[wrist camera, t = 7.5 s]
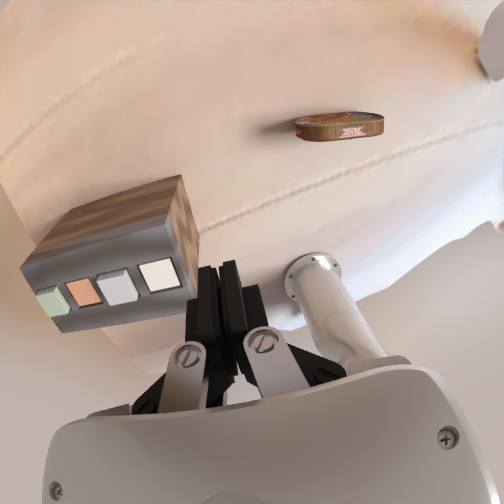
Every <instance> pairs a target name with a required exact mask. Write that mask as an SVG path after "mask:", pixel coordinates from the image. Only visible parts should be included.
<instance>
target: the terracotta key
mask: <svg viewBox="0 0 504 504" xmlns="http://www.w3.org/2000/svg"><path fill="white" fill-rule="evenodd" d="M66 285H67V287H68V288H69V290H70V292H71V293H72V295H73V297H74V298H75V300H76V302H77V303H78V305H79V306H83V305H88V304H93V303H98V302H102V300H101V298H100V296H99V294H98V293H97V291H96V289H95V287H94V286H93V284H92V282H91V280H90V278H89V277H85V278H81V279H77V280H73V281H69V282H66Z"/></svg>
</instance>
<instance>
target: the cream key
mask: <svg viewBox="0 0 504 504" xmlns="http://www.w3.org/2000/svg"><path fill="white" fill-rule="evenodd" d="M139 267H140V270H141V272H142V274H143V276H144V278H145V280H146V283H147V285H148V287H149V289H150V291H156V290H161V289H165V288H170V287H175V286H179V285H180V284H181V280H180V278H179V275H178V273H177V270H176V267H175V265H174V262H173V260H172V257H167V258H162V259H158V260H154V261H150V262H146V263H142V264H139Z"/></svg>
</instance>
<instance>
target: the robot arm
mask: <svg viewBox="0 0 504 504" xmlns="http://www.w3.org/2000/svg"><path fill="white" fill-rule="evenodd" d="M219 275H220V280H219V277H218V273H217V270H216V268H211V266H210V265H209V266H205V267H201V268H198V287H197V298H193V299H189V300H187V309H186V331H185V342H184V343H182V344H180V345H178V346H177V347H176V348H175V349H174V350H173V351H172V353H171V355H170V358H169V363H168V367H167V371H166V373H165V374H164V375H163V376H162V377H160V378H159V379H158V380H157V381H156V382H155V383H154V384H153V385H152V386H151V387H150V388H149V389H148V390H147V391H146V392H144V393H143V394H142V395H141V396H140V397H139V398H138V399H137V400H136V401H135V403H134V404H133V405H130V404H129V403H128V404H125V405H121V406H117V407H114V408H110V409H106V410H102V411H98V412H94V413H92V414H89V415H88V416H87V418H84V419H80V420H76V421H73V422H70V423H68V424H66V425H64V426H62V427H61V428H59V429H58V430H57V431H56V432H55V434H54V436H53V437H52V440H51V443H50V446H49V449H48V453H47V458H46V464H45V470H44V478H43V491H42V504H500V500H499V497H498V493H497V489H496V486H495V483H494V480H493V477H492V474H491V471H490V468H489V465H488V462H487V460H486V457H485V455H484V452H483V450H482V448H481V445H480V443H479V441H478V439H477V436H476V434H475V432H474V430H473V428H472V426H471V424H470V421H469V419H468V418H467V416H466V414H465V412H464V410H463V408H462V407H461V405H460V403H459V401H458V400H457V398H456V396H455V395H454V393H453V392H452V390H451V389H450V387H449V386H448V385H447V383H446V382H445V381H444V380H443V378H442V377H441V376H440V375H439V374H438V373H437V372H435V371H434V370H432V369H431V368H428V367H426V366H422V365H413V364H411V363H410V361H409V360H408V359H406V358H405V357H402V356H391V355H390V354H389V352H388V351H387V350H386V349H385V347H384V346H383V345H382V344H381V343H380V341H379V340H378V339H377V337H376V336H375V335H374V333H373V331H372V330H371V328H370V327H369V325H368V324H367V322H366V320H365V319H364V317H363V315H362V314H361V312H360V310H359V309H358V307H357V305H356V304H355V302H354V300H353V299H352V297H351V296H350V294H349V292H348V291H347V289H346V288H345V286H344V284H343V283H342V281H341V276H342V270H341V267H340V264H339V263H338V261H337V260H336V259H335V258H334V257H332V256H331V255H329V254H326V253H313V254H309V255H306V256H303V257H302V258H300V259H298V260H297V261H296V262H294V263H293V264H292V265H291V267H290V268H289V269H288V271H287V273H286V275H285V278H284V288H285V291H286V293H287V295H288V296H289V298H291V299H292V300H293V301H295V302H298V303H299V306H300V308H301V311H302V313H303V315H304V318H305V320H306V323H307V325H308V328H309V330H310V333H311V336H312V338H313V341H314V343H315V345H316V348H317V350H318V351H319V352H320V353H321V355H323V356H324V357H325V358H323V357H320V356H318V355H315V354H312V353H310V352H308V351H305V350H303V349H300V348H297V347H295V346H293V345H290V344H288V343H286V342H285V340H284V338H283V336H282V334H281V333H280V332H279V330H277V329H275V328H273V327H269V325H268V321H267V317H266V313H265V310H264V306H263V302H262V298H261V294H260V290H259V287H258V284H257V285H252V286H248V287H243V288H242V285H241V282H240V278H239V274H238V270H237V266H236V262H235V260H231V261H227V262H223V266H219ZM326 358H327V359H326ZM237 363H238V366H239V368H240V371H241V373H242V374H244V375H245V378H246V380H247V382H249V383H251V384H253V385H254V386H256V387H258V390H259V393H260V395H261V398H262V399H259V400H254V401H249V402H244V403H238V404H232V405H227V391H226V390H227V389H228V388H229V387H230V385H231V384H232V383H235V380H234V376H237V375H238V368H237Z"/></svg>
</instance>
